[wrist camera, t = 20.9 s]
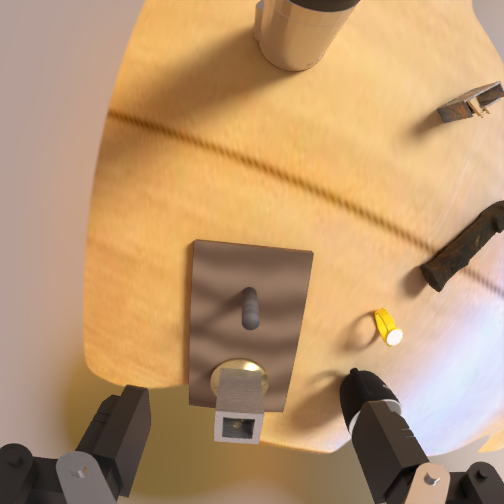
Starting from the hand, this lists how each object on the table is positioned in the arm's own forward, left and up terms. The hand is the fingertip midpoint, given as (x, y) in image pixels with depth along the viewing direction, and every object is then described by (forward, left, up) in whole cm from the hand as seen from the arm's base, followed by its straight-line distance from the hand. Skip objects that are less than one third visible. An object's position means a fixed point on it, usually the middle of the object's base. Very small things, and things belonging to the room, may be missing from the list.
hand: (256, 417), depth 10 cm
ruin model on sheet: (+10, +41, -34) cm, 54 cm away
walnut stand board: (+10, -11, -33) cm, 36 cm away
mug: (+30, -5, -33) cm, 45 cm away
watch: (+24, +5, -33) cm, 41 cm away
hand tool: (+26, +26, -34) cm, 50 cm away
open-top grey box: (+14, -17, -31) cm, 38 cm away
